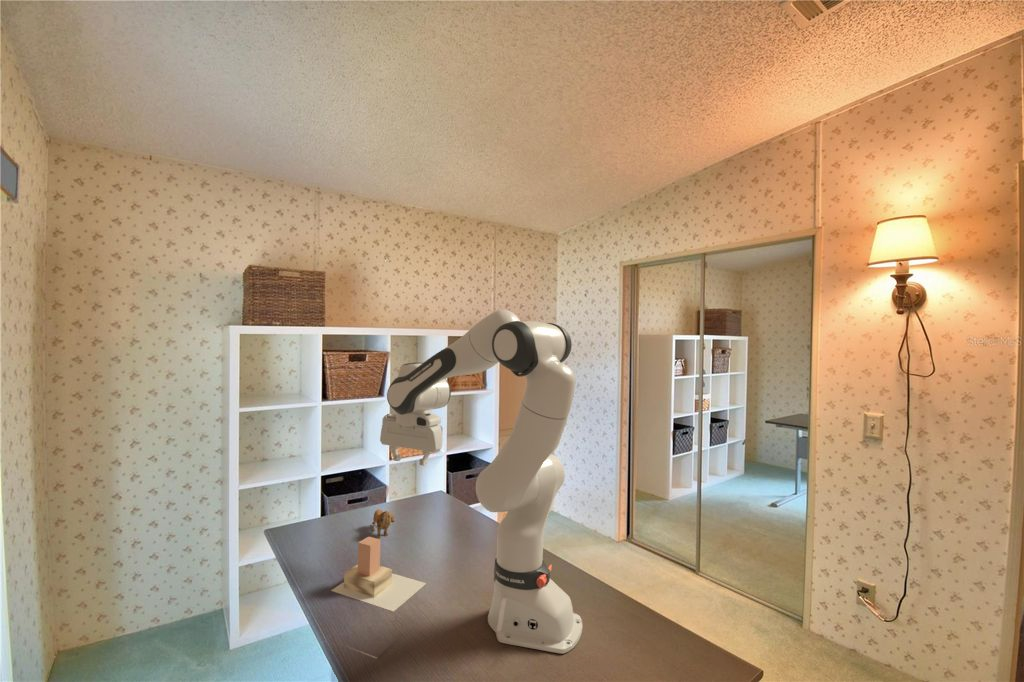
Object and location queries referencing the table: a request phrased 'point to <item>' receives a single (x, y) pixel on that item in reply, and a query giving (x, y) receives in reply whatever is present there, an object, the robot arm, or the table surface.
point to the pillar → (369, 556)
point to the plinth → (368, 581)
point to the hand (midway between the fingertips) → (409, 462)
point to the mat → (386, 593)
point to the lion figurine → (382, 521)
